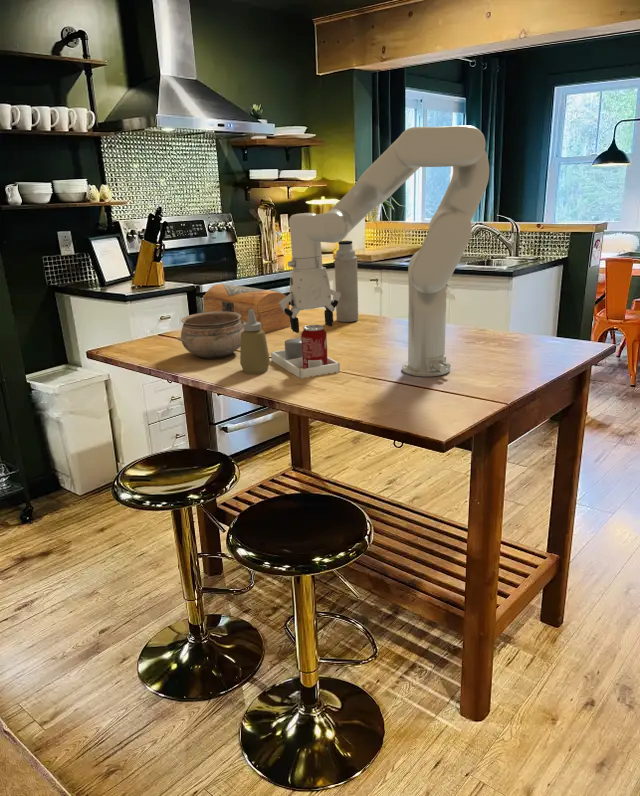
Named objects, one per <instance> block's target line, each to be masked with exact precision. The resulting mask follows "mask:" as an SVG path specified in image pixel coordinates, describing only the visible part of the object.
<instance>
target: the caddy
mask: <svg viewBox="0 0 640 796" xmlns="http://www.w3.org/2000/svg"><path fill="white" fill-rule="evenodd" d="M270 353H271V357H270V358H271V361H272V362H273V363H275V364H276V365H278V366H280V367H281V368H283V369H285V370H286V371H287V372H289V373H291V374H292V373H293V374H292V375H294V376H295V375H296V377H297V376H298V377H297V378H299V379H305V378H304V377H306V378H310V376H312V377H317V376H316V375H318V376H323V375H322V374H324V375H329V374H328V373H330V374H335V373H334V372H336V373H340V372H341V366H340V364H341V363H340V362H338V361H337V360H334V359H333V358H331V357H329V356H327V358H328V365H323V366H317V367H311V368H306V369H303V360H302V341H301V338H300V337H298V338H297V337H295V338H289V339H286V340H285V341H284V349H282V350H277V351H271V352H270ZM301 368H302V369H301Z"/></svg>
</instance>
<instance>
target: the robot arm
mask: <svg viewBox="0 0 640 796" xmlns="http://www.w3.org/2000/svg"><path fill="white" fill-rule="evenodd" d="M486 144H487V143H486V138H485V135H484V133H483V132H482V131H481V130H480V129H479V128H477V127H475V126H473V125H467V124H466V125H450V126H449V125H447V126H414V127H413V126H412V127H409V128H407V129H405V130H404V131H403V132H402V133H401V134H400V135H399V136H398V138H396V140H394V142H392V143H391V144H390V146H388V147H387V149H386V150H385V151H383V152H382V154H380V155H379V157H377V159H376V160H374V161H373V162H372V164H371V165H370V166H369V167H367V168H366V170H364V171H363V172H362V174H361V175H360V176H359V178H358V180H357V181H356V183H355V184H354V185H353V186H352V187H351V188H350V189H349V190H348V192H347V193H346V194H345V195H344V196H342V198H341V199H340V200H339V201H337V203H336V204H335V205H334V206H332V208H330V209H329V211H327V212H324V213H319V214H318V213H317V214H316V213H315V212H304V213H296V214H295V213H294V214H291V216H290V217H289V220H288V225H289V233H290V234H289V236H290V246H291V260H290V261H287V267H288V268H292V270H291V271H290V279H289V294H288V295H286V297H285V298H284V299H282V300H281V301H280V302H279V305H280V307H281V308H282V310H283V312H284V313H286V314H287V315H288V316H289V317H290V329H291V330H292V332H293V333H295V334H299V333H300V323H299V317H297V316H298V314H300V311H307V310H312V309H313V310H315V309H319V308H324V309H325V310H324V314H323V315H324V324H325V326H327V327H330V328H331V327H333V323H334V311H335V309H336V306H337V304H338V300H339V298H340V296H341V294H340V293H339V292H336V290H333V289H331V284H330V279H329V275H328V271H327V267H324V266H323V256H322V243H327V244H328V243H330V244H333V243H335V244H336V243H338V242H340V241H344V240H345V239H346V237H347V236H348V235H349V233H350V232H351V231H352V230H353V229H354V228H355V227H356V226H357V225H358V224H359V223H361V221H362V220H363V219H364V218H366V217H367V215H368V214H370V213H371V212H373V210H374V209H375V208H376V207H378V206H380V205H381V204H383V203H384V202H386V201H387V200H388V199H389V198H390V197H391V196H392V195H393V194H394V193H395V192H396V191H397V190H398V189H399V188H400V187H401V186H402V185H404V184H405V182H406V181H407V180H409V179H410V177H412V175H414V173H415V172H417V171H418V170H419V169H420V168H441V167H443V168H444V167H445V168H446V167H452V176H451V180H450V181H449V185H448V186H447V188H446V191H445V193H444V195H443V197H442V200H441V201H440V204H439V205H438V207H437V209H436V211H435V213H434V214H433V216H432V218H431V219H430V222H429V226H428V232H427V234H426V236H425V238H424V240H423V243H422V245H421V247H420V248H419V250H418V251H416V252H415V253H414V254H413V255H412V256H411V258H410V260H409V263H408V268H407V272H408V273H407V276H408V277H407V278H408V313H407V314H408V321H407V322H408V326H407V329H408V331H407V332H408V333H407V334H408V336H407V339H408V340H407V346H408V347H407V348H408V349H407V356H408V357H407V361H406V362H404V363H402V367H401V370H402V372H404V373H405V374H407V375H410V376H415V377H423V378H424V377H425V378H426V377H439V376H443V375H446V374H448V373H449V372H450V371H451V363H448V362H447V356H446V327H447V326H446V322H447V321H446V320H447V318H446V317H447V284H448V282H449V281H450V280H451V278H452V276H453V274H454V271H455V270H456V268H457V266H458V265H459V262H460V260H461V258H462V257H463V255H464V253H465V251H466V248H467V246H468V244H469V243H470V240H471V236H472V233H473V232H472V231H473V226H472V220H473V218H474V215H475V213H476V212H477V209H478V207H479V205H480V203H481V201H482V198H483V196H484V194H485V192H486V189H487V186H488V183H489V177H490V163H489V158H488V153H487V151H486ZM332 296H333V298H332ZM287 303H289V304H290V306H291V308H289V309H290V310H289V309H288V308H287Z"/></svg>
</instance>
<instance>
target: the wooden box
mask: <svg viewBox="0 0 640 796" xmlns="http://www.w3.org/2000/svg"><path fill="white" fill-rule="evenodd" d="M286 296H287V295H286V294H284V293H282V292H278V291H275V290H274V291H273V290H267V289H262V288H256V287H249V286H242V285H234V284H233V285H232V284H224V283H223V284H222V283H217V284H215V285H213V286H211V287H209V288H208V290H207V291H206V292H205V294H204V295H203V296H202V302H203V313H204V312H215V311H227V312H235V313H238V314H240V315H241V317H240V318H239V320H240V321H245V323H247V320H248V312H249V310H253V311H254V314H255V318H256V321H257V322H260V323H261V329H260V330H263V331H264V332H265V334H267V333H270V332H276V331H280V330H283V329H286V328H289V327H290V328H291V324H290V317H289V316H288V315H287V314H286V313H284V312H283V310H282V308H281V307H280V305H279V302H280V301H281V300H282V299H284V298H285V297H286ZM287 308H288V309H289V310H290V309H291V308H290V302H289V303H287ZM242 324H243V323H242ZM244 331H245V330H244Z"/></svg>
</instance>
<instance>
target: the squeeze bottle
mask: <svg viewBox="0 0 640 796" xmlns="http://www.w3.org/2000/svg"><path fill="white" fill-rule="evenodd" d="M243 327H244V330H245V331H243V332H242V333H241V345H240V347H239V348H240V350H239V351H240V353H239V354H240V355H239V357H240V358H239V359H240V361H239V362H240V363H239V364H240V366H241V368H242V370H243V372H244V373H245V374H248V375H249V374H250V375H258V374H264V373H266V372H267V371H268V369H269V365H270V361H271V360H270V353H269V348H268V341H267V338H266V337H267V336H266V333H265V332H264V331H263V330H260V329H261V323H260V322H257V321H256V318H255V314H254V311H253V310H249V312H248V320H247V323H244V324H243Z"/></svg>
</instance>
